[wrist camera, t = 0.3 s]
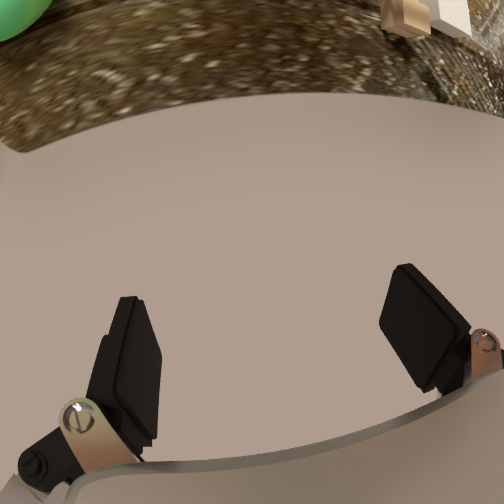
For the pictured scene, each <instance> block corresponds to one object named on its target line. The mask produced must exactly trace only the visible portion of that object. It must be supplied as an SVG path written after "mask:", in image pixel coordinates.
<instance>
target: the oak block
mask: <svg viewBox="0 0 504 504" xmlns="http://www.w3.org/2000/svg"><path fill="white" fill-rule="evenodd" d="M380 12H381V29H383V30H386V31H389V32H392V33H394V34H397V35H400V36H403V37H405V38H410V37H416V36H423V35H430V34H431V29H430V16H429V7H428V6H426V5H424V4H422V3H420V2H418V1H416V0H386V1H383V2H381V3H380Z"/></svg>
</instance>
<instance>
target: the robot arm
mask: <svg viewBox="0 0 504 504" xmlns="http://www.w3.org/2000/svg"><path fill="white" fill-rule="evenodd" d="M379 326H380V329H381V330H382V332H383V333H384V335H385V336H386V338H387V339H388V341H389V342H390V344H391V345H392V347H393V349H394V350H395V352H396V353H397V355H398V356H399V358H400V360H401V361H402V363H403V365H404V366H405V368H406V369H407V371H408V373H409V374H410V376H411V378H412V379H413V381H414V383H415V384H416V386H417V387H418V388H421V390H422V392H423V393H426V392H429V391H431V390H433V389H434V388H435V386H436V387H437V389H438V392H437V398H436V400H435V401H433V402H431V403H429V404H427V405H424V406H422V407H420V408H418V409H415V410H414V411H411V412H408V413H406V414H404V415H401V416H399V417H396V418H394V419H391V420H388V421H386V422H383V423H380V424H377V425H375V426H372V427H369V428H366V429H363V430H360V431H357V432H354V433H350V434H347V435H344V436H340V437H337V438H333V439H329V440H326V441H322V442H318V443H313V444H309V445H305V446H301V447H296V448H291V449H286V450H280V451H275V452H270V453H263V454H256V455H248V456H241V457H231V458H220V459H208V460H191V461H161V462H146V461H145V460H144V458H143V457H142V456H141V454H142V453H143V446H144V447H152V439H156V438H157V424H158V405H159V390H160V377H161V366H162V355H161V351H160V348H159V345H158V343H157V340H156V337H155V334H154V331H153V329H152V326H151V322H150V319H149V316H148V314H147V310H146V307H145V304H144V301H143V300H139V299H138V298H137V296H129V297H121V298H120V300H119V303H118V306H117V309H116V312H115V315H114V318H113V321H112V324H111V327H110V331H109V334H108V335H104V336H103V338H102V340H101V344H100V347H99V350H98V353H97V357H96V360H95V363H94V367H93V371H92V374H91V378H90V382H89V386H88V390H87V394H86V398H75V399H73V400H71V401H69V402H68V403H66V404H65V405H64V407H63V408H62V410H61V412H60V414H59V425H60V426H59V427H58V428H56V429H55V430H54V431H52V432H51V433H49V434H48V435H46V436H45V437H44V438H42V439H41V440H39V441H38V442H36V443H35V444H33V445H32V446H31V447H29V448H28V449H26V450H25V451H24V452H23V453H22V454H21V456H20V458H19V461H18V471H19V473H18V475H15V474H13V475H12V477H11V478H10V480H9V481H8V482H7V484H6V485H5V486H4V488H3V489H2V491H1V492H0V504H504V350H503V349H501V348H500V343H499V340H498V339H497V337H496V336H495V335H494V334H493V333H492V332H490V331H488V330H486V329H476V330H474V331H473V333H472V334H471V335H470V334H469V331H470V329H471V326H470V325H469V323H468V322H467V321H466V320H465V319H464V317H463V316H462V315H461V314H460V313H459V312H458V311H457V310H456V309H455V308H454V306H453V305H452V304H451V303H450V302H449V301H448V300H447V299H446V298H445V297H444V296H443V295H442V294H441V292H440V291H439V290H438V289H437V288H436V287H435V286H434V285H433V284H432V283H431V282H430V281H429V280H428V279H427V278H426V277H425V276H424V275H423V274H422V273H421V272H420V271H419V270H418V269H417V268H416V267H415V266H414V265H413V264H411V263H408V264H402V265H398V266H397V267H396V269H395V270H394V271H393V274H392V278H391V281H390V285H389V289H388V293H387V296H386V299H385V303H384V306H383V310H382V313H381V316H380V319H379Z"/></svg>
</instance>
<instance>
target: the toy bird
mask: <svg viewBox="0 0 504 504" xmlns="http://www.w3.org/2000/svg"><path fill="white" fill-rule="evenodd" d="M52 1H53V0H0V42H1V41H5V40H7V39H10V38H12V37H14V36H16V35H18V34H19V33H21V32H23V31H24V30H26V29H27V28H28V27H29V26H31V25H32V24H33V23H34V22H35V21H36V20H37V19H38V18H39V17H40V16H41V15H42V14H43V13H44V12H45V11H46V9H47V8H48V7H49V5H50V4H51V2H52Z"/></svg>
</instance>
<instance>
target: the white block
mask: <svg viewBox="0 0 504 504" xmlns="http://www.w3.org/2000/svg"><path fill="white" fill-rule="evenodd" d="M420 3H422V4H424V5H426V6H428V7H429V16H430V26H431V27H433V28H435V29H437V30H439V31H441V32H443V33H445V34H447V35H449V36H451V37H453V38H456V37H472V35H471V26H470V18H469V11H468V5H467V0H420Z"/></svg>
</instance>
